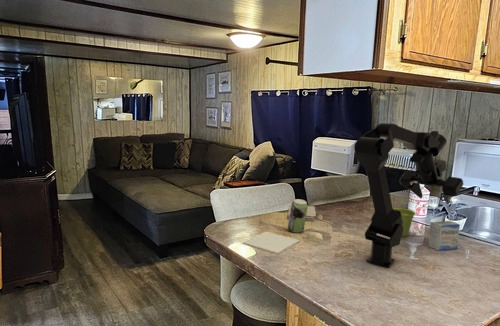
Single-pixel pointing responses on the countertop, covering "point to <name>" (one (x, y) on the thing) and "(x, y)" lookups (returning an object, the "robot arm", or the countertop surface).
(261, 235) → the cream mat
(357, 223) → the countertop surface
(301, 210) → the beverage can
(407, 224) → the plant pot
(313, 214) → the washcloth
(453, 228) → the medicine box
